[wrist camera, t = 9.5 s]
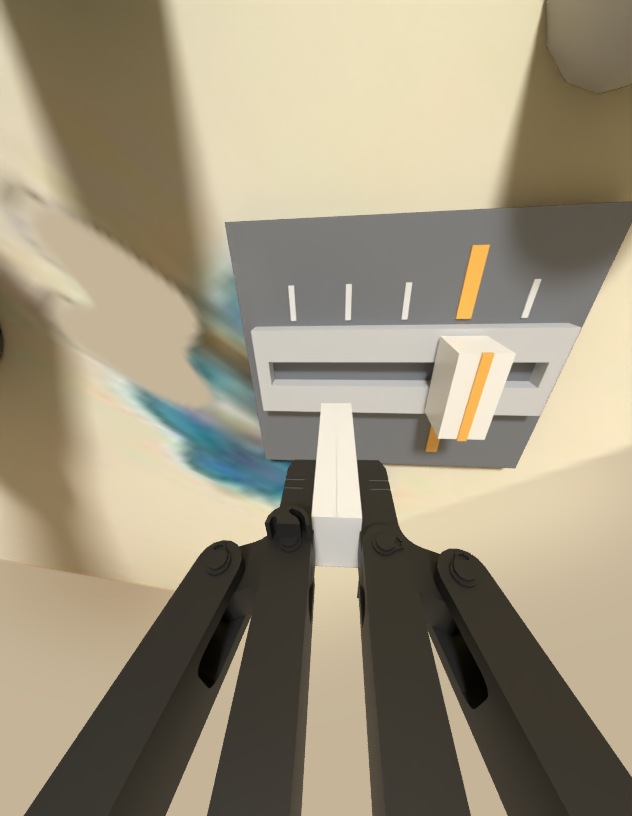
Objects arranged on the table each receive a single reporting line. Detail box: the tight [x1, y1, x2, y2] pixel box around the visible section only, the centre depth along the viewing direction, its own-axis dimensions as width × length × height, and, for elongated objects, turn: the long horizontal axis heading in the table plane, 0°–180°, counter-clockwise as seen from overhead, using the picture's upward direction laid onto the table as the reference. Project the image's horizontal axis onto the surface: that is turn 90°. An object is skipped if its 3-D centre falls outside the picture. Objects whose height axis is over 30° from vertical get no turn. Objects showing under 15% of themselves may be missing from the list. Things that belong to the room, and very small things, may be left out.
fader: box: [425, 336, 516, 441], centre depth 18 cm, size 3×6×5 cm, turn 2°
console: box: [225, 201, 632, 468], centre depth 21 cm, size 24×20×3 cm
